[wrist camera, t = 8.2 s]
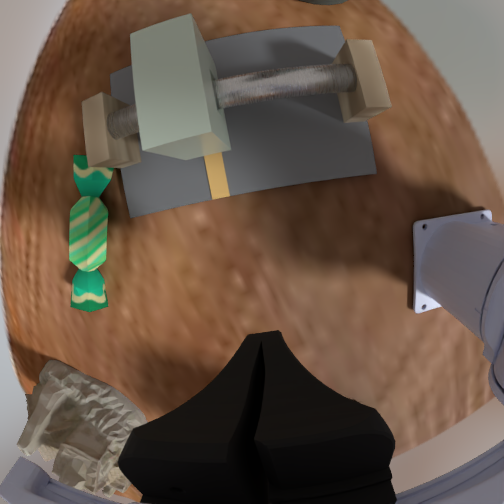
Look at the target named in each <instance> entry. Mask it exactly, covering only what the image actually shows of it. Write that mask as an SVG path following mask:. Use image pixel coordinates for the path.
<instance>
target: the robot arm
mask: <svg viewBox="0 0 504 504" xmlns="http://www.w3.org/2000/svg"><path fill="white" fill-rule="evenodd" d="M423 224H425V228H424V229H423V228H422V226H423ZM413 241H414V297H413V310H414V312H415V313H421V312H425V311H428V310H431V309H434V308H438V307H441V306H442V307H443V308H444V309H446V310H447V311H448V312H449V313H450V314H452V315H453V316H454V317H455V318H456V319H458V320H459V321H460V322H461V323H462V324H463V325H465V326H466V327H467V328H468V329H469V330H470V331H472V332H473V333H474V334H475V335H476V336H477V337H478V338H479V339H481V340H482V341H483V342H484V351H483V355H484V356H485V357H486V358H487V359H488V360H489V361H490V362H491V363H492V364H491V366H490V369H489V373H488V380H489V385H490V387H491V390H492V391H493V393H494V395H495V396H496V397H497V399H498V400H499V401H500V402H501V403H502V404H503V405H504V224H500V223H496V222H493V221H492V214H491V211H490V210H480V211H474V212H468V213H462V214H456V215H450V216H444V217H438V218H432V219H426V220H420V221H416V222H415V223H414V225H413ZM423 305H424V307H423V308H422V306H423ZM394 449H395V440H394V437H393V434H392V432H391V430H390V429H389V427H388V425H387V424H386V422H385V421H384V419H383V418H382V417H381V415H380V414H379V413H378V411H377V410H376V409H374V408H371V407H369V406H366V405H363V404H360V403H358V402H355V401H352V400H350V399H348V398H346V397H344V396H342V395H340V394H339V393H337V392H335V391H334V390H332V389H331V388H329V387H327V386H326V385H324V384H323V383H322V382H321V381H319V380H318V379H317V378H316V377H314V376H313V375H312V374H311V373H310V372H309V371H308V370H307V369H306V368H305V367H304V366H303V365H302V364H301V363H300V362H299V361H298V360H297V358H296V357H295V356H294V354H293V353H292V352H291V350H290V349H289V348H288V346H287V344H286V343H285V341H284V339H283V337H282V333H281V332H280V331H279V330H276V331H270V332H263V333H256V334H248V335H247V336H246V338H245V339H244V341H243V342H242V344H241V346H240V347H239V349H238V350H237V351H236V353H235V354H234V356H233V357H232V358H231V360H230V361H229V362H228V364H227V365H226V366H225V367H224V369H223V370H222V371H221V372H220V373H219V374H218V375H217V377H216V378H215V379H214V380H213V381H212V382H211V383H210V384H208V385H207V386H206V387H205V388H204V389H203V390H202V391H200V392H199V393H198V394H197V395H195V396H194V397H192V398H191V399H190V400H188V401H187V402H186V403H184V404H183V405H181V406H179V407H178V408H176V409H175V410H173V411H171V412H169V413H167V414H165V415H164V416H162V417H160V418H157V419H155V420H153V421H150V422H148V423H146V424H143V425H141V426H138V427H135V428H133V430H132V431H131V433H130V435H129V437H128V439H127V441H126V443H125V445H124V448H123V450H122V452H121V454H120V456H119V459H118V462H117V463H118V466H119V469H120V470H121V472H122V473H123V474H124V476H125V477H126V478H127V479H128V480H129V481H130V482H131V483H132V484H133V485H134V486H135V487H136V488H137V489H138V490H139V491H140V492H141V493H142V494H143V496H142V499H141V501H140V503H138V502H132V503H129V504H504V440H503V441H501V442H500V443H499V444H497V445H495V446H494V447H492V448H491V449H489V450H488V451H486V452H484V453H483V454H481V455H479V456H478V457H476V458H474V459H473V460H471V461H469V462H467V463H465V464H464V465H462V466H460V467H458V468H456V469H454V470H452V471H450V472H448V473H446V474H444V475H442V476H440V477H438V478H435V479H433V480H431V481H429V482H426V483H424V484H422V485H419V486H417V487H414V488H412V489H409V490H407V491H404V492H401V493H398V494H395V492H394V489H393V486H392V483H391V479H392V473H391V470H390V468H389V464H390V461H391V459H392V455H393V452H394ZM0 496H1V497H2V498H3V499H4V500H5V501H6V502H8V503H9V504H121V503H118V502H114V501H110V500H107V499H104V498H101V497H98V496H95V495H92V494H89V493H86V492H84V491H81V490H78V489H76V488H73V487H71V486H68V485H66V484H63V483H61V482H59V481H56V480H54V479H52V478H50V476H49V475H48V474H47V473H46V472H45V471H44V470H43V469H42V468H41V467H39V466H38V465H37V464H35V463H33V462H31V461H29V460H27V459H25V458H23V457H19V459H18V460H17V462H16V463H15V464H14V466H13V467H12V469H11V470H10V472H9V473H8V475H7V476H6V477H5V479H4V480H3V482H2V483H1V485H0Z"/></svg>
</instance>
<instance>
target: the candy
mask: <svg viewBox="0 0 504 504" xmlns="http://www.w3.org/2000/svg"><path fill="white" fill-rule="evenodd" d="M113 169H114V168H108V167H88V161H87V155H74V180H75V183H76V185H77V187H78V189H79V191H80V194H81V196H82V197H81V198H80V199H79V201H78V202H77V203H76V204H75V205H74V206H73V207H72V209H71V211H70V228H69V260H70V261H71V262H72V263H74V264H75V265H76V266H77V267H78V268H79V269H78V271H77V273H76V274H75V276H74V278H73V281H72V292H71V307H73V308H76V309H80V310H83V311H87V312H92V311H95V310H98V309H102V308H105V307H108V300H107V296H106V289H105V282H104V279H103V277H102V275H101V274H100V272H99V271H98V269H97V268H98V267H99V266H100V265H101V264H102V263H103V262H105V261H106V241H107V223H108V209H107V207H106V206H105V205H104V203H103V202H102V201H101V199H100V198H99V196H100V195H101V193H102V192H103V191H104V189H105V188H106V186H107V185H108V183H109V182H110V181H111V177H112V173H113Z"/></svg>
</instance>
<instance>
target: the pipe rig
mask: <svg viewBox="0 0 504 504" xmlns="http://www.w3.org/2000/svg"><path fill="white" fill-rule="evenodd" d="M205 44H206V46H207V48H208V50H209V52H210V55H211V57H212V59H213V61H214V63H215V67H216V72H217V77H218V79H217V80H213V81H212V85H213V90H214V96H215V101H216V107H217V110H219V109H224V114H225V119H226V125H227V130H228V135H229V140H230V145H231V150H229V151H224V152H219V153H215V154H210V155H206V156H201V157H197V158H193V159H189V160H182V159H178V158H174V157H169V156H165V155H161V154H156V153H151V152H147V151H142V145H141V138H140V132H139V125H138V117H137V109H136V101H135V92H134V82H133V71H132V65H130V66H128V67H125V68H123V69H121V70H118V71H116V72H114V73H111V74H110V85H111V96H110V95H108V94H106V93H104V92H101V93H99V94H97V95H94V96H92V97H90V98H88V99H86V100H84V101H82V114H83V127H84V137H85V145H86V153H87V161H88V167H108V168H121V174H122V179H123V185H124V190H125V195H126V200H127V205H128V210H129V214H130V218H134V217H138V216H142V215H146V214H150V213H154V212H158V211H163V210H167V209H171V208H176V207H180V206H184V205H189V204H194V203H198V202H203V201H208V200H213V199H218V198H223V197H228V196H233V195H238V194H243V193H248V192H254V191H259V190H265V189H271V188H277V187H283V186H289V185H295V184H302V183H308V182H315V181H322V180H329V179H336V178H344V177H352V176H360V175H369V174H377V171H376V164H375V158H374V153H373V147H372V142H371V137H370V132H369V127H368V122H367V120H368V119H370V118H372V117H374V116H376V115H378V114H380V113H381V112H383V111H385V110H387V109H389V108H391V107H392V106H391V102H390V98H389V95H388V91H387V87H386V84H385V80H384V77H383V73H382V70H381V67H380V64H379V61H378V58H377V55H376V52H375V49H374V46H373V43H372V41H371V40H348V39H346V41H345V40H344V37H343V35H342V32H341V29H340V26H308V27H292V28H281V29H272V30H264V31H256V32H250V33H244V34H238V35H233V36H228V37H223V38H218V39H213V40H209V41H205Z"/></svg>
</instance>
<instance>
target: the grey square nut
mask: <svg viewBox="0 0 504 504" xmlns="http://www.w3.org/2000/svg"><path fill="white" fill-rule="evenodd" d="M130 42H131V58H132V71H133V82H134V92H135V101H136V109H137V117H138V125H139V132H140V138H141V145H142V151H147V152H151V153H156V154H161V155H165V156H169V157H174V158H178V159H182V160H189V159H193V158H197V157H201V156H206V155H210V154H215V153H219V152H224V151H229V150H231V145H230V140H229V135H228V130H227V125H226V119H225V114H224V109H219V110H217V107H216V101H215V96H214V90H213V85H212V81H213V80H217V79H218V77H217V72H216V67H215V63H214V61H213V59H212V57H211V55H210V52H209V50H208V48H207V46H206V44H205V41H204V39H203V37H202V35H201V33H200V31H199V29H198V26H197V24H196V22H195V20H194V18H193V16H192V14H187V15H183V16H180V17H177V18H173V19H170V20H167V21H164V22H161V23H158V24H155V25H152V26H149V27H147V28H144V29H141V30H139V31H136V32H134V33H131V34H130Z"/></svg>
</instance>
